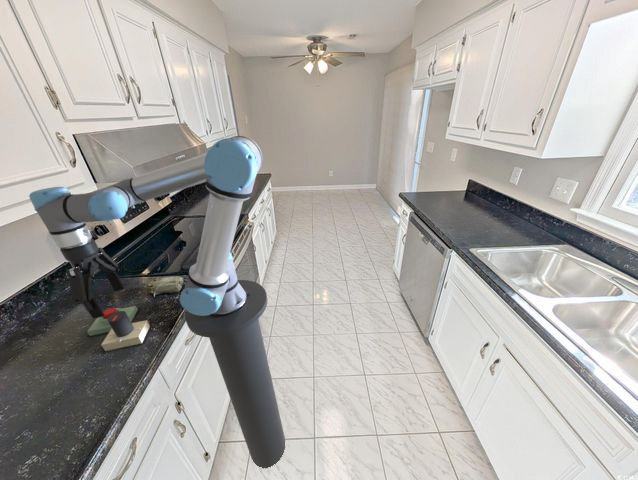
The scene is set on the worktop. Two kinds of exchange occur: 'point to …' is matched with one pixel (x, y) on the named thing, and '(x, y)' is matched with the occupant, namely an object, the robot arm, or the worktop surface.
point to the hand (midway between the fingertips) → (109, 302)
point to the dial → (120, 324)
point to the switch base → (103, 325)
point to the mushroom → (165, 285)
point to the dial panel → (126, 337)
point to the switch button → (109, 312)
